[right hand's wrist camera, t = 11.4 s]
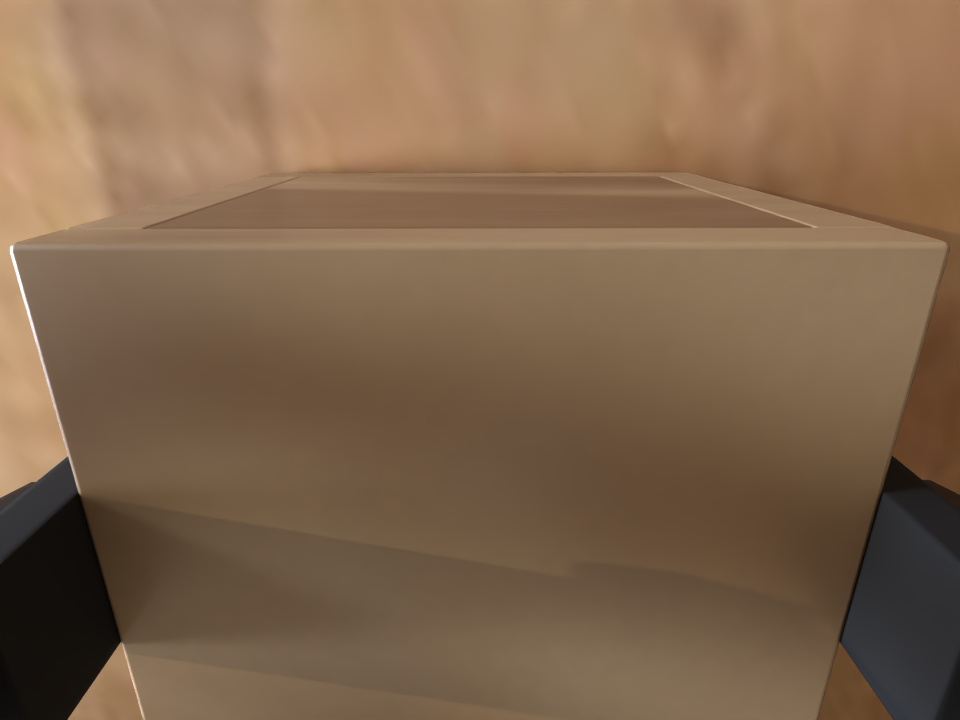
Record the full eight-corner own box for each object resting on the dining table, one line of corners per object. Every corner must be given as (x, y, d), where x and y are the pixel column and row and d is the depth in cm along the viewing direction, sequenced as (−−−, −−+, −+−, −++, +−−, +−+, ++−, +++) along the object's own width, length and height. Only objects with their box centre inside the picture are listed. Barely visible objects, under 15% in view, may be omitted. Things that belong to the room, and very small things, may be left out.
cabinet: (621, 737, 24) (708, 1114, 15) (339, 738, 24) (254, 1116, 15) (688, 172, 16) (956, 242, 7) (270, 172, 16) (3, 243, 7)
